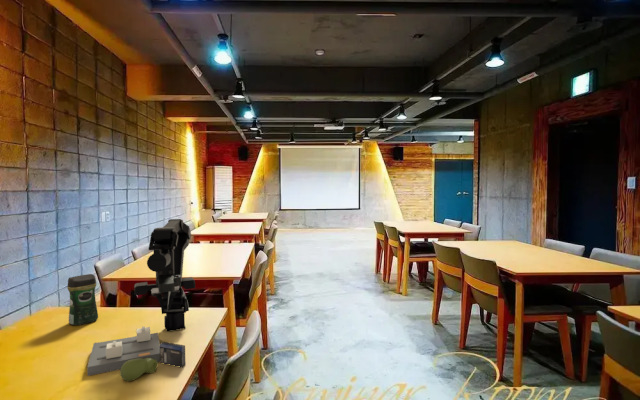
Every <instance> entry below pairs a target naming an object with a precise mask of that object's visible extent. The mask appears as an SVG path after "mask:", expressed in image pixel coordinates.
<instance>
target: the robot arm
mask: <svg viewBox="0 0 640 400" xmlns="http://www.w3.org/2000/svg"><path fill="white" fill-rule="evenodd" d="M167 221H168V222H167V223H166V224H165V225H164V226H162V227H155V228H154V229H153V230H152V231H151V233H150V237H149V238H150V239H149V245H148V251H152V252H153V253H152V254H150V256H148V258H147V261H146V264H147V268H148V269H149V270H150V271H152V272H155V283H151V284H148V281H143V282H136V283H135V284H133V285H134V287H133V288H134V290H133V291H134V296H143V295H146V294H147V293H148V292H149V291H150V292H151V296H153V297H154V296H155V297H156V299H157V301H158V304H159V305H160V308H161V309H160V310H161V315H164V314H165V315H164V319H163V320H164V330H166V332H168V333H169V332H173V331H180V330H186V325H185V314H186V313H187V312H189V311H190V309H189V302H188V301H189V300H188V299H187V296H186V293H185V290H191V289H196V281H195V279H194V277H191V276H190V277H183V268H184V257H185V250H186V249H187V247H189V245H190V240H191V239H192V238H191V237H192V233H191V229H190V226H189V225H188V224H186V223H185V222H184V220H183V219H181V218H170V219H168V220H167ZM184 289H185V290H184Z"/></svg>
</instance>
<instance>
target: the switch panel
mask: <svg viewBox="0 0 640 400" xmlns="http://www.w3.org/2000/svg"><path fill="white" fill-rule="evenodd" d="M113 341H116V342H120V341H122V356H120V357H115V358H109V359H106V347H107V344H109V343H113ZM138 358H142V359H145V358H152V359H156V361H157V363H160V339H159V332H154V333H150V340H148V341H142V342H137V335H136V336H131V337H124V338H118V339H111V340H106V341H99V342H94V343H93V346H92V348H91V351H90V356H89V358H88V359H89V360H88V363H87V367H86V368H87V371H86V372H87V376H88V377H89V376H94V375H99V374H104V373H108V372H113V371H120V370H121V367H122V365H123V364H124V363H125V362H126V361H128V360H131V359H138Z"/></svg>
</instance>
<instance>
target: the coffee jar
mask: <svg viewBox="0 0 640 400" xmlns="http://www.w3.org/2000/svg"><path fill="white" fill-rule="evenodd" d="M66 286H67V287H66V288H67V291H68V292H69V308H68V309H69V311H68V323H69V324H70V326H82V325H85V324H89V323H92V322H95V321H97V320H98V318H99V313H98V307H97V301H96V287H97V280H96V276H95V275H94V274H92V273H88V274H81V275H76V276H70V277H68V279H67V285H66Z"/></svg>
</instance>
